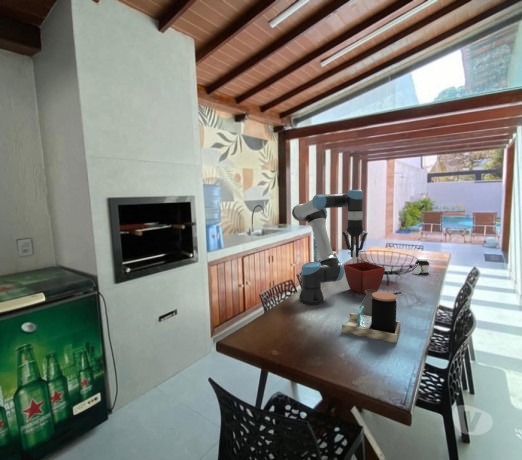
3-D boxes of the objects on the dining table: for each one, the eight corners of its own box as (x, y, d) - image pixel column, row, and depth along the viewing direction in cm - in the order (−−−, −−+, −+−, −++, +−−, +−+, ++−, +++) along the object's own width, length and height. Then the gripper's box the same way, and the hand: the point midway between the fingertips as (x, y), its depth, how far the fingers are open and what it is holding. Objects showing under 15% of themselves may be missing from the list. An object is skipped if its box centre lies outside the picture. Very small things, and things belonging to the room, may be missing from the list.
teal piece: (355, 332, 142) (355, 313, 140) (361, 321, 152) (361, 304, 151) (369, 334, 139) (369, 316, 137) (373, 323, 149) (374, 306, 148)
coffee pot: (356, 315, 162) (357, 288, 160) (362, 308, 171) (363, 283, 169) (399, 324, 150) (400, 295, 148) (403, 316, 159) (404, 289, 157)
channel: (342, 332, 144) (342, 324, 143) (349, 320, 157) (349, 312, 156) (396, 343, 132) (396, 335, 131) (400, 329, 145) (400, 321, 144)
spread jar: (429, 272, 236) (430, 257, 235) (428, 276, 227) (429, 261, 225) (412, 270, 243) (413, 256, 241) (411, 274, 233) (411, 259, 232)
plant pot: (385, 292, 195) (386, 267, 192) (361, 297, 188) (362, 271, 186) (365, 284, 212) (365, 261, 210) (342, 288, 205) (342, 264, 203)
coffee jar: (398, 330, 142) (399, 294, 140) (391, 339, 134) (392, 301, 132) (375, 324, 149) (376, 289, 146) (367, 333, 141) (368, 296, 138)
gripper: (340, 219, 158) (340, 263, 162) (366, 220, 152) (365, 265, 155) (344, 218, 165) (344, 260, 168) (369, 218, 158) (368, 262, 161)
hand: (354, 262), depth 161 cm, fingers closed
